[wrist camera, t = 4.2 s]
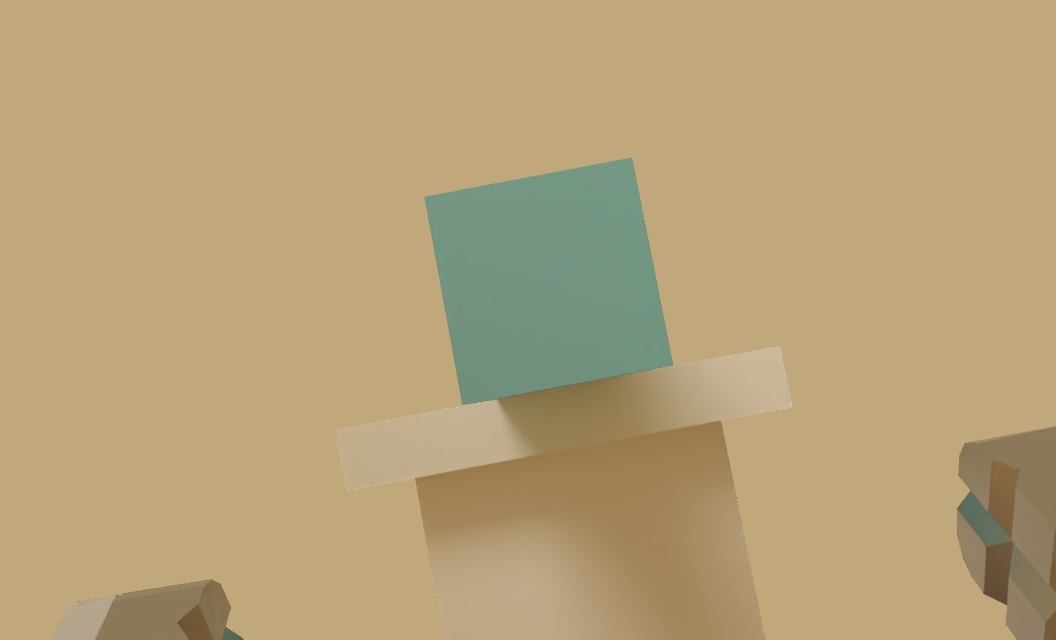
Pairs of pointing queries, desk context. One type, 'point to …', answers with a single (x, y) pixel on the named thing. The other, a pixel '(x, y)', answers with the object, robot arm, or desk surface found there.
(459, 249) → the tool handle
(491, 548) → the stand
